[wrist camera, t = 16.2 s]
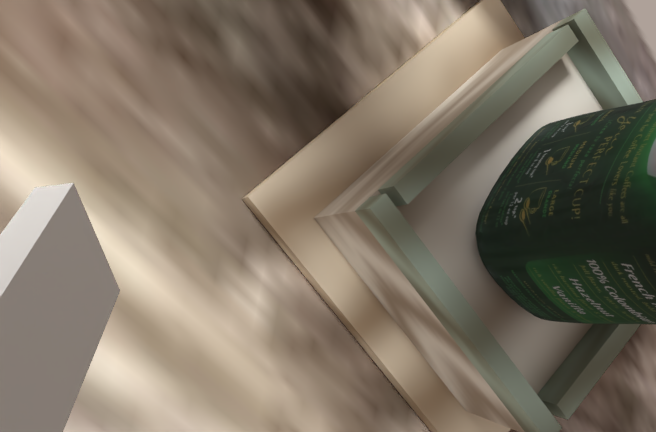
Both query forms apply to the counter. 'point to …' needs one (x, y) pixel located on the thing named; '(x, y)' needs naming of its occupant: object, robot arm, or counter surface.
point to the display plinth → (348, 162)
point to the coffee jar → (578, 220)
